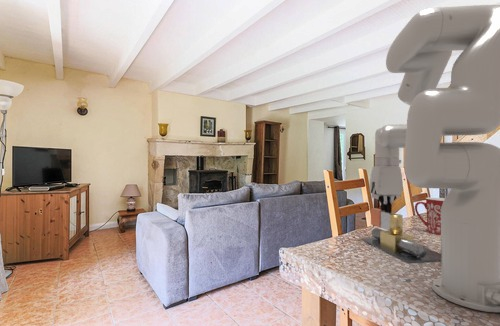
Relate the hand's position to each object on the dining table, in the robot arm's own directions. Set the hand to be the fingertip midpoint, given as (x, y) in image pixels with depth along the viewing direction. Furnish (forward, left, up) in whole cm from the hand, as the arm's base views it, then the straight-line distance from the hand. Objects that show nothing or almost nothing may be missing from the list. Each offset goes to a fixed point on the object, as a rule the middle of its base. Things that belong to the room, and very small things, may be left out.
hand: (386, 214), depth 92 cm
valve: (-9, +1, -9) cm, 13 cm away
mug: (+8, -27, -10) cm, 30 cm away
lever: (-4, +3, -4) cm, 6 cm away
